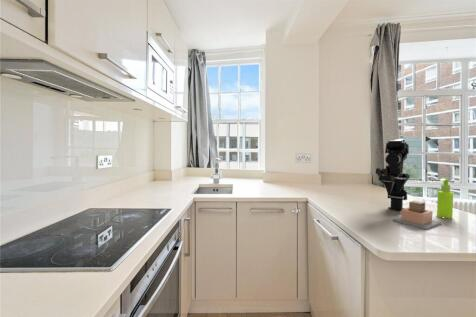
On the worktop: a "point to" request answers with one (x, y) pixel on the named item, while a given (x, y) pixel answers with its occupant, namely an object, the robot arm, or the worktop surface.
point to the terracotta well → (417, 219)
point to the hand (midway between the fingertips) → (393, 192)
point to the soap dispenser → (445, 200)
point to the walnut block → (417, 206)
